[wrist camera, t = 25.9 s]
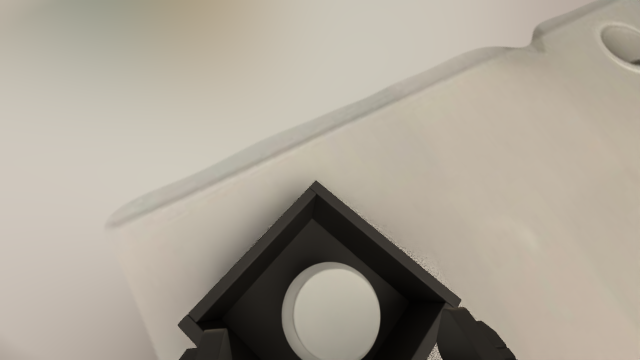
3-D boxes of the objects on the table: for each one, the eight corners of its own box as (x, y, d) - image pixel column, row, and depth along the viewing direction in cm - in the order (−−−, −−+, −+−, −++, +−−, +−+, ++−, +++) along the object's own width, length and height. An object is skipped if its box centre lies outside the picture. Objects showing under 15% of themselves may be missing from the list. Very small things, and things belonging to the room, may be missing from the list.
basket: (327, 443, 19) (341, 504, 14) (209, 319, 22) (176, 325, 16) (419, 301, 23) (462, 299, 17) (311, 209, 26) (315, 179, 20)
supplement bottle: (369, 298, 23) (416, 292, 14) (334, 368, 21) (363, 414, 12) (310, 260, 23) (318, 232, 15) (271, 324, 22) (253, 337, 13)
